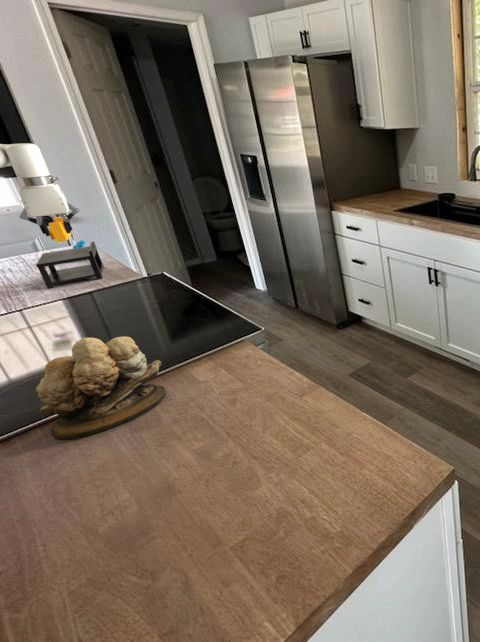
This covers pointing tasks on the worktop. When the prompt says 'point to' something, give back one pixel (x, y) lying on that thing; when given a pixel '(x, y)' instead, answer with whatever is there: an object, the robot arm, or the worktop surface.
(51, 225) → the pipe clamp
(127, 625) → the worktop surface
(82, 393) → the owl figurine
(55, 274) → the rack
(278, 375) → the worktop surface
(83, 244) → the gear
